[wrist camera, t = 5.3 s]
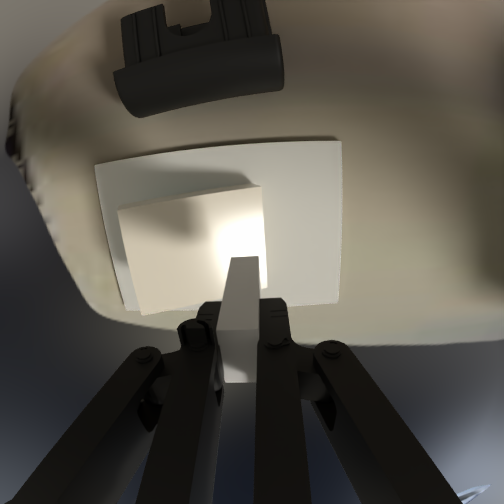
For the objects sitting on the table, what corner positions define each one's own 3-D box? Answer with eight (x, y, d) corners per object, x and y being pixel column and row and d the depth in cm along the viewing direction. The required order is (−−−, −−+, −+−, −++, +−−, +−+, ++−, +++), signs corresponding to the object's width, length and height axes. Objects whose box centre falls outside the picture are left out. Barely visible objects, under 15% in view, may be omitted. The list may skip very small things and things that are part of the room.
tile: (261, 186, 21) (117, 210, 18) (267, 287, 24) (141, 315, 21) (251, 182, 23) (119, 204, 20) (258, 277, 26) (141, 303, 23)
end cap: (154, 120, 22) (117, 118, 16) (143, 42, 19) (106, 19, 13) (280, 96, 21) (288, 82, 15) (265, 16, 18) (267, -21, 12)
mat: (339, 140, 22) (341, 140, 21) (336, 299, 27) (338, 302, 27) (97, 164, 23) (94, 165, 23) (128, 307, 28) (126, 310, 28)
